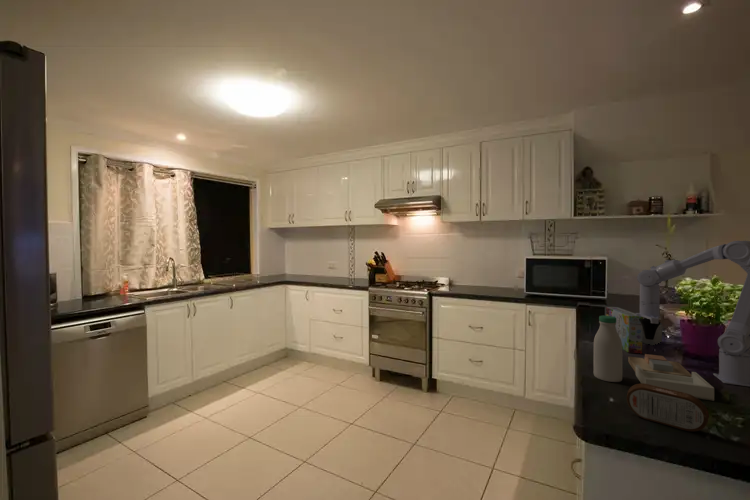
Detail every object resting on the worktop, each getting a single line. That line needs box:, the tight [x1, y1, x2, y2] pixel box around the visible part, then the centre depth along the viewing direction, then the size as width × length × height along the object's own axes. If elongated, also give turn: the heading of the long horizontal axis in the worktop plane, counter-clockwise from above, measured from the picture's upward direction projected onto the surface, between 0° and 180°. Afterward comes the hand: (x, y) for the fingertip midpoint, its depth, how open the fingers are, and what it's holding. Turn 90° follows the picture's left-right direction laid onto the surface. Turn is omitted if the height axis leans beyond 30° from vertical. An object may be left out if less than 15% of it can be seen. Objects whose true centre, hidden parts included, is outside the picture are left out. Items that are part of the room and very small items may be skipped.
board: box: [627, 355, 692, 377], centre depth 114 cm, size 14×14×2 cm
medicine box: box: [642, 323, 663, 346], centre depth 146 cm, size 8×4×9 cm, turn 120°
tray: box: [635, 365, 715, 402], centre depth 101 cm, size 15×13×4 cm
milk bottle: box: [593, 315, 623, 383], centre depth 108 cm, size 8×8×20 cm
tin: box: [626, 383, 710, 432], centre depth 81 cm, size 15×3×8 cm, turn 45°
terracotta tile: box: [644, 353, 668, 364], centre depth 116 cm, size 5×5×2 cm
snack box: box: [605, 306, 644, 355], centre depth 142 cm, size 21×6×15 cm, turn 167°
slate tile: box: [649, 359, 673, 372], centre depth 111 cm, size 5×5×2 cm
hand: (649, 339), depth 123 cm, fingers closed
